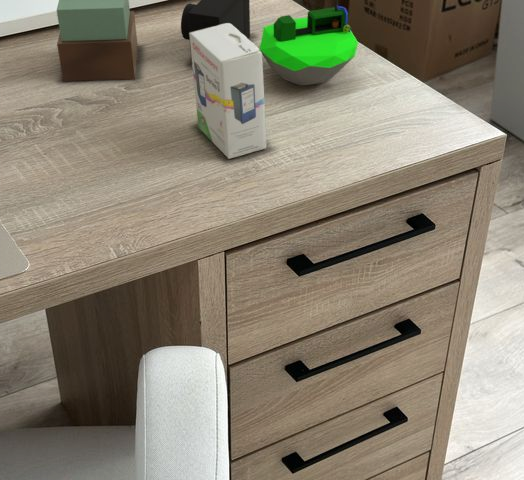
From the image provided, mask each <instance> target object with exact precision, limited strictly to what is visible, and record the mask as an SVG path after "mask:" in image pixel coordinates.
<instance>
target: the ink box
mask: <svg viewBox="0 0 524 480" xmlns="http://www.w3.org/2000/svg"><path fill="white" fill-rule="evenodd" d="M189 35H190V40H189V46H190V45H191V53H190V57H191V56H192V64H191V67H192V75H193V85H194V96H195V107H196V115H197V117H196V118H197V128H198V129H199V131H201V132H202V133H203V134H204V135H205V136H206V137H207V138H208V139H209V140H210V141H211V142H212V144H214V145H215V146H216V147H217V148H218V149H219V150H220V152H222V154H223V155H224V156H225V157H226V158H227V159H228V160H230V159H233V158H237V157H241V156H244V155H247V154H251V153H255V152H258V151H261V150H265V149H267V130H266V109H265V88H264V87H265V86H264V85H265V84H264V66H263V65H264V64H263V54H262V52H261V51H260V47H258V46H257V45H256V44H255V43H254V42H252V41H251V40H250V38H249V39H247V37H246V36H245V35H243V34H242V33H241V32H240V31H239V30H238V29H237V28H235V27H234V26H233V25H232V24H230V23H225V24H221V25H218V26H214V27H210V28H206V29H202V30H198V31H194V32H190V33H189Z"/></svg>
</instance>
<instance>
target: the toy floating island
mask: <svg viewBox="0 0 524 480" xmlns="http://www.w3.org/2000/svg"><path fill="white" fill-rule="evenodd" d="M348 23H349V12H348V10H347V8H346V7H344V6H341V5H340V6H339V0H334V7H327V8H321V9H313V10H308V12H307V17H300V18H299V17H298V18H293V16H291V15H290V14H288V15H281V16H280V17H278V18H277V19H276V20H275V21H274V23H272V24H269V25H265V26H263V30H262V35H261V40H260V44H259V51H260V52H262V57H264V59H265V61H266V62H267V64H268V66H269V68H271V69H272V70H273V71H274V72H275V73H277V75H279V76H280V77H281V78H282V79H283V80H285V81H288V82H290V83H293V84H295V85H298V86H309V85H310V86H311V85H316V84H317V85H318V84H325V83H328V82H329V81H330V80H331V79H333V78H334V77H335V76H336V75H337V74H338V73H339V72H340V71H342V69H343V68H344V67H345V66H347V65H348V63H350V61H352V60H353V58H354V57H356V53H357V49H358V45H359V42H358V40H357V38H356V36H355V35H354V34H353V31H352V27H351V26H350V25H349V24H348Z"/></svg>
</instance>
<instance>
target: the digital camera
mask: <svg viewBox="0 0 524 480" xmlns="http://www.w3.org/2000/svg"><path fill="white" fill-rule="evenodd" d="M250 7H251V5H250V0H199V1H198V2H197V4H195V3H187V4H186V5H185V7H184V8H183V10H182V13H181V19H180V33H181V36H182V38H183V39H184V40H187V41H190V35H189V33H190V32H194V31H198V30H202V29H206V28H210V27H214V26H218V25H221V24H225V23H230V24H232V25H233V26H234V27H235V28H237V29H238V30H239V31H240V32H241V33H242V34H243V35H245V36H246V37H247V39H249V40H250V37H251V12H250V11H251V8H250ZM189 52H190V54H191V45H190V44H189ZM190 64H191V65H192V56H191V55H190Z"/></svg>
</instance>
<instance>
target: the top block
mask: <svg viewBox="0 0 524 480" xmlns="http://www.w3.org/2000/svg"><path fill="white" fill-rule="evenodd" d="M130 11H131V9H130V0H58V3H57V7H56V14H57V15H56V16H57V21H58V28H59V34H60V35H61V41H88V40H118V39H127V34H128V25H129V16H130Z"/></svg>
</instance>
